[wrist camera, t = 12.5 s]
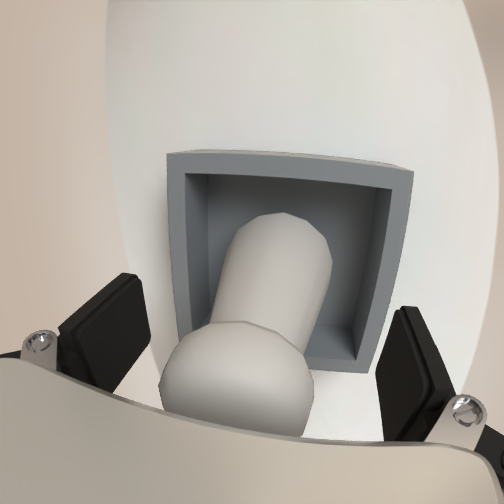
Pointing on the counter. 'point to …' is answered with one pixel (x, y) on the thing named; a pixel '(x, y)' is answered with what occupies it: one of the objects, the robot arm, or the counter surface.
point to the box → (305, 207)
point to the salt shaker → (255, 332)
